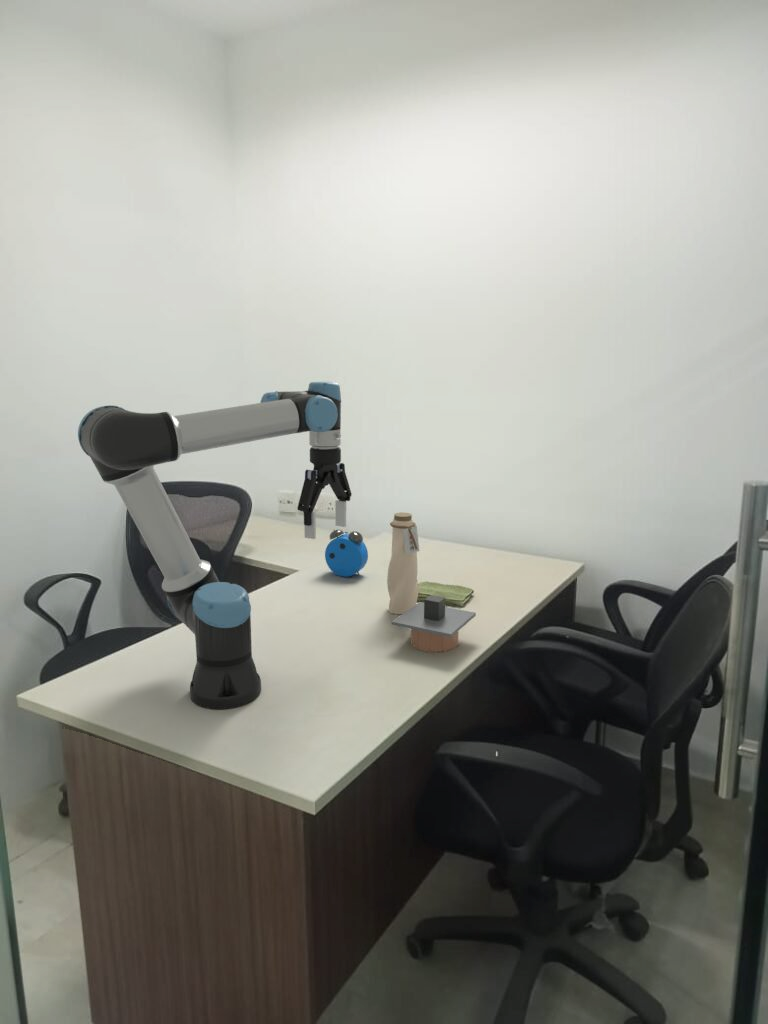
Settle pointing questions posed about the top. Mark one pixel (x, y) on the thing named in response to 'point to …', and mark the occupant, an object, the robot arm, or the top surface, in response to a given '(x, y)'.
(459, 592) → the washcloth
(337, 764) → the top surface
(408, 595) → the water bottle
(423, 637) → the bowl
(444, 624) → the cover sheet
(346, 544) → the alarm clock
